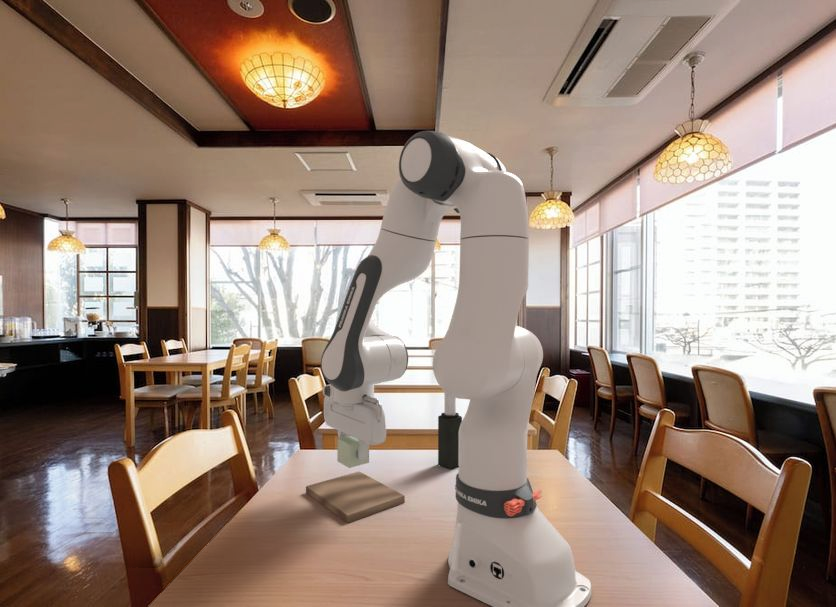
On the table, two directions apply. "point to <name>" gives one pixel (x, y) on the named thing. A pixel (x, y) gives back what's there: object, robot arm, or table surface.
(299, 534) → the table surface
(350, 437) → the cube
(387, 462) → the table surface
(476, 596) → the robot arm
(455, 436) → the black and grey rod
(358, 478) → the serving board
